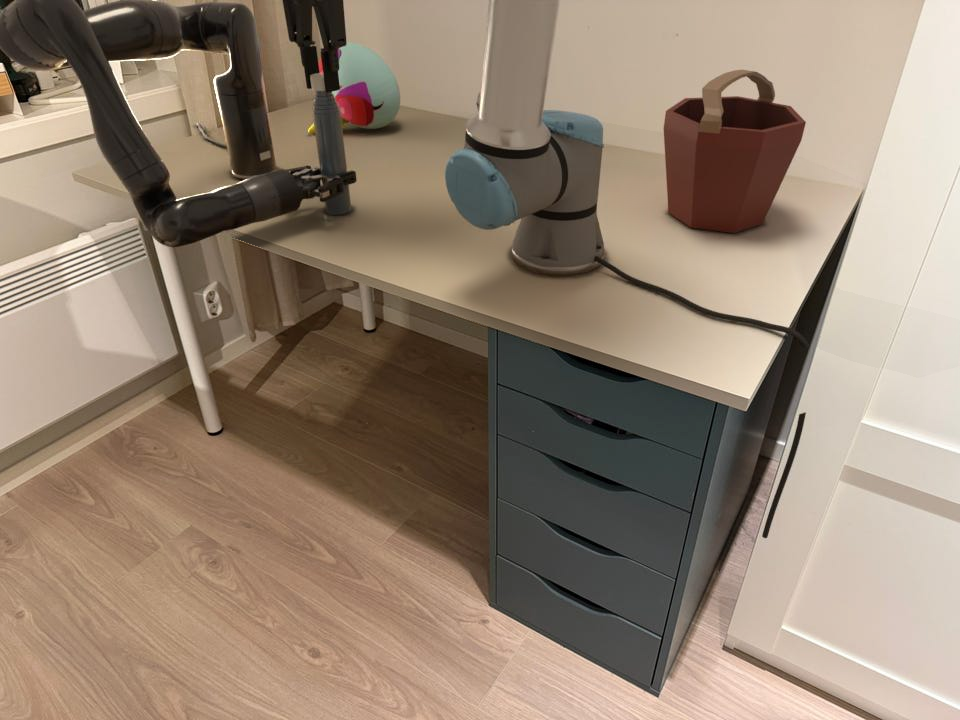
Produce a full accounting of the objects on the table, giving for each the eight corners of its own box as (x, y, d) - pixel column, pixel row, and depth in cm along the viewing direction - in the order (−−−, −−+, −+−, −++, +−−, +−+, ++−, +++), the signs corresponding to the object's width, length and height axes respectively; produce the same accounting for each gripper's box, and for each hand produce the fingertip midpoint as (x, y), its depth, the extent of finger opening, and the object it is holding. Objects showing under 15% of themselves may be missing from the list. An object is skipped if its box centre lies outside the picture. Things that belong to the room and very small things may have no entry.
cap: (321, 92, 120) (319, 79, 119) (307, 88, 122) (305, 75, 121) (339, 87, 123) (338, 74, 121) (325, 84, 125) (323, 71, 124)
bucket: (710, 250, 119) (740, 96, 105) (622, 208, 134) (638, 69, 120) (804, 218, 129) (843, 75, 115) (713, 183, 145) (736, 53, 131)
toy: (277, 110, 181) (275, 51, 163) (352, 72, 191) (358, 13, 173) (336, 175, 178) (341, 122, 160) (410, 134, 188) (421, 79, 170)
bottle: (324, 207, 136) (306, 76, 123) (349, 204, 138) (334, 74, 124) (327, 216, 132) (309, 82, 119) (353, 213, 134) (338, 80, 120)
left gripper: (286, 185, 117) (367, 161, 127) (241, 166, 125) (321, 144, 135) (293, 228, 121) (371, 201, 131) (249, 206, 129) (326, 182, 139)
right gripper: (360, -68, 108) (374, 91, 121) (285, -71, 116) (305, 78, 129) (324, -66, 103) (342, 100, 116) (248, -69, 111) (274, 86, 124)
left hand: (345, 172), depth 133 cm, fingers closed on bottle, 5 cm apart
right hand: (323, 88), depth 123 cm, fingers closed on cap, 4 cm apart
